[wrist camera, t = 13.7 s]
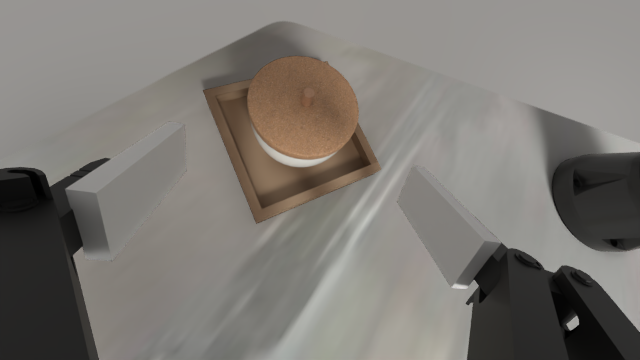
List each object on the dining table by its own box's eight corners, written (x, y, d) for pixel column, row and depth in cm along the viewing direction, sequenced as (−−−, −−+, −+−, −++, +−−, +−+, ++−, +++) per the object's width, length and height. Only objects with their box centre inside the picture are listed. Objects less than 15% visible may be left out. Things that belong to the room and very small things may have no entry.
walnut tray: (323, 72, 35) (327, 61, 33) (373, 173, 32) (381, 168, 30) (206, 101, 30) (202, 90, 28) (256, 223, 28) (256, 221, 25)
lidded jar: (235, 159, 28) (224, 119, 19) (269, 86, 32) (273, 23, 23) (322, 191, 30) (348, 168, 21) (346, 118, 33) (377, 71, 24)
